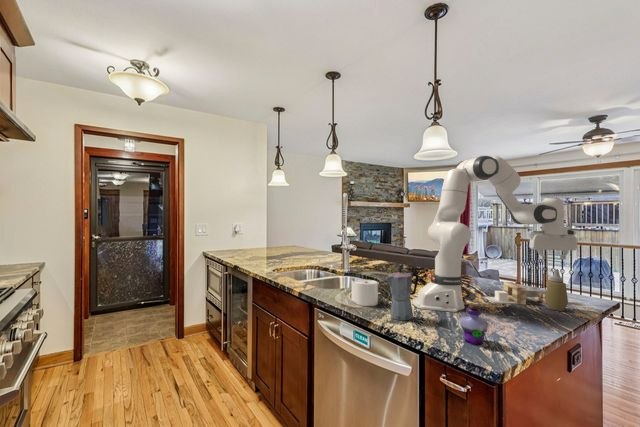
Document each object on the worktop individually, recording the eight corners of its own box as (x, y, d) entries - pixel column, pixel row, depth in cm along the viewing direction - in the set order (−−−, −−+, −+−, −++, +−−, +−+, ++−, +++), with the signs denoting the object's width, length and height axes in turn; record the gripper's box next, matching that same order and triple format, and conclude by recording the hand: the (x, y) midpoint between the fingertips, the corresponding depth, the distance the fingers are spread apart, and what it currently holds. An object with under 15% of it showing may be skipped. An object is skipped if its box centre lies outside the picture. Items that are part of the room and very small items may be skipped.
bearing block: (517, 304, 141) (517, 287, 141) (503, 297, 153) (503, 281, 153) (525, 304, 141) (526, 287, 141) (511, 297, 153) (511, 282, 153)
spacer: (507, 301, 144) (499, 301, 145) (503, 298, 149) (494, 298, 149) (508, 293, 144) (499, 292, 145) (503, 290, 149) (494, 290, 149)
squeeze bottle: (572, 312, 129) (572, 271, 129) (551, 311, 131) (551, 270, 131) (561, 307, 137) (561, 268, 137) (541, 306, 139) (541, 267, 139)
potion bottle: (470, 348, 93) (470, 309, 93) (453, 337, 102) (454, 302, 102) (495, 346, 95) (495, 308, 95) (476, 335, 103) (476, 301, 103)
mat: (494, 303, 143) (494, 302, 143) (484, 297, 153) (484, 296, 153) (515, 303, 142) (515, 302, 142) (504, 297, 152) (504, 297, 152)
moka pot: (379, 315, 123) (380, 267, 123) (409, 311, 129) (409, 265, 129) (394, 323, 114) (394, 271, 115) (425, 318, 120) (425, 268, 121)
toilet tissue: (379, 306, 135) (379, 284, 135) (352, 306, 136) (353, 284, 136) (375, 300, 146) (375, 279, 146) (351, 299, 146) (351, 279, 147)
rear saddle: (545, 304, 142) (545, 295, 142) (534, 299, 150) (534, 291, 150) (554, 304, 142) (554, 295, 142) (543, 299, 149) (543, 291, 150)
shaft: (516, 297, 145) (516, 280, 145) (511, 294, 149) (511, 278, 149) (559, 298, 143) (559, 281, 143) (553, 295, 147) (553, 279, 147)
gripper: (534, 230, 143) (534, 259, 143) (579, 231, 142) (579, 260, 142) (526, 230, 150) (526, 257, 150) (569, 231, 148) (569, 258, 148)
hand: (552, 259), depth 146 cm, fingers open, 8 cm apart
